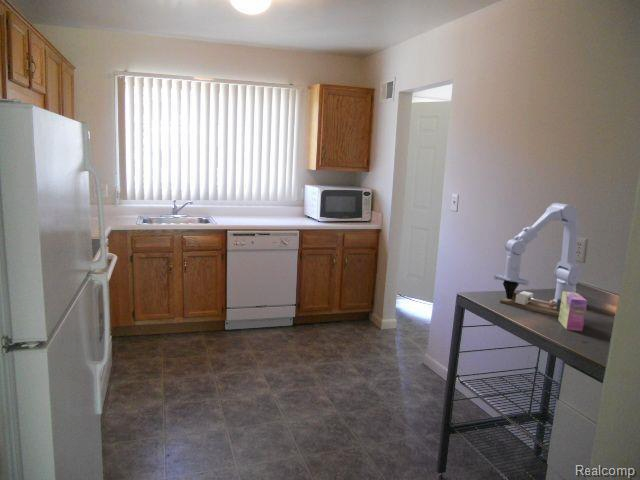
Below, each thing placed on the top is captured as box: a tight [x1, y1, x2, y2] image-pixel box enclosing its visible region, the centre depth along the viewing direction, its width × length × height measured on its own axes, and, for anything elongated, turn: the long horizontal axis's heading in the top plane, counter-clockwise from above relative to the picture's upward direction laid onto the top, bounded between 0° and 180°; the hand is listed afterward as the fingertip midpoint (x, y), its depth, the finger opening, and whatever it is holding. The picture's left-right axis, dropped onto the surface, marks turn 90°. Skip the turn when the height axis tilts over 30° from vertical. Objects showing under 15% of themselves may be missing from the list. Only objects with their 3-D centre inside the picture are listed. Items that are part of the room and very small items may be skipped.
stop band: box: [548, 299, 555, 308], centre depth 195 cm, size 3×1×3 cm, turn 138°
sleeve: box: [515, 290, 534, 305], centre depth 202 cm, size 9×4×3 cm, turn 138°
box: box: [557, 291, 588, 332], centre depth 177 cm, size 10×6×12 cm, turn 168°
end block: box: [556, 297, 562, 312], centre depth 192 cm, size 4×3×5 cm
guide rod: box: [528, 297, 557, 307], centre depth 198 cm, size 1×19×1 cm, turn 48°
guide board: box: [499, 290, 559, 318], centre depth 199 cm, size 11×26×4 cm, turn 48°
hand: (509, 298), depth 203 cm, fingers closed
